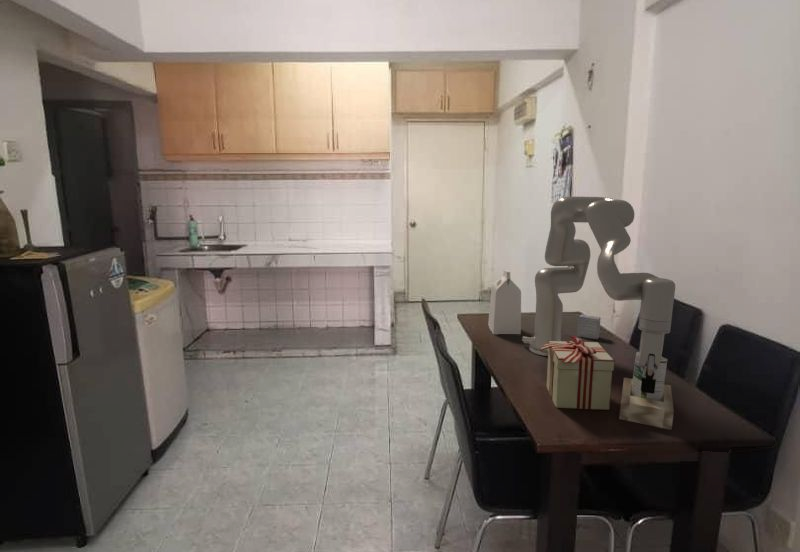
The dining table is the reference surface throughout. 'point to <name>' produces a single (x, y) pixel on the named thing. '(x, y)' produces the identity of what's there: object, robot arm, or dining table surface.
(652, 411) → the socket block
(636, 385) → the syrup box
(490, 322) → the milk
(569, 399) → the gift box
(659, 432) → the dining table surface
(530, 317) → the dining table surface
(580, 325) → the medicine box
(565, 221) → the robot arm
